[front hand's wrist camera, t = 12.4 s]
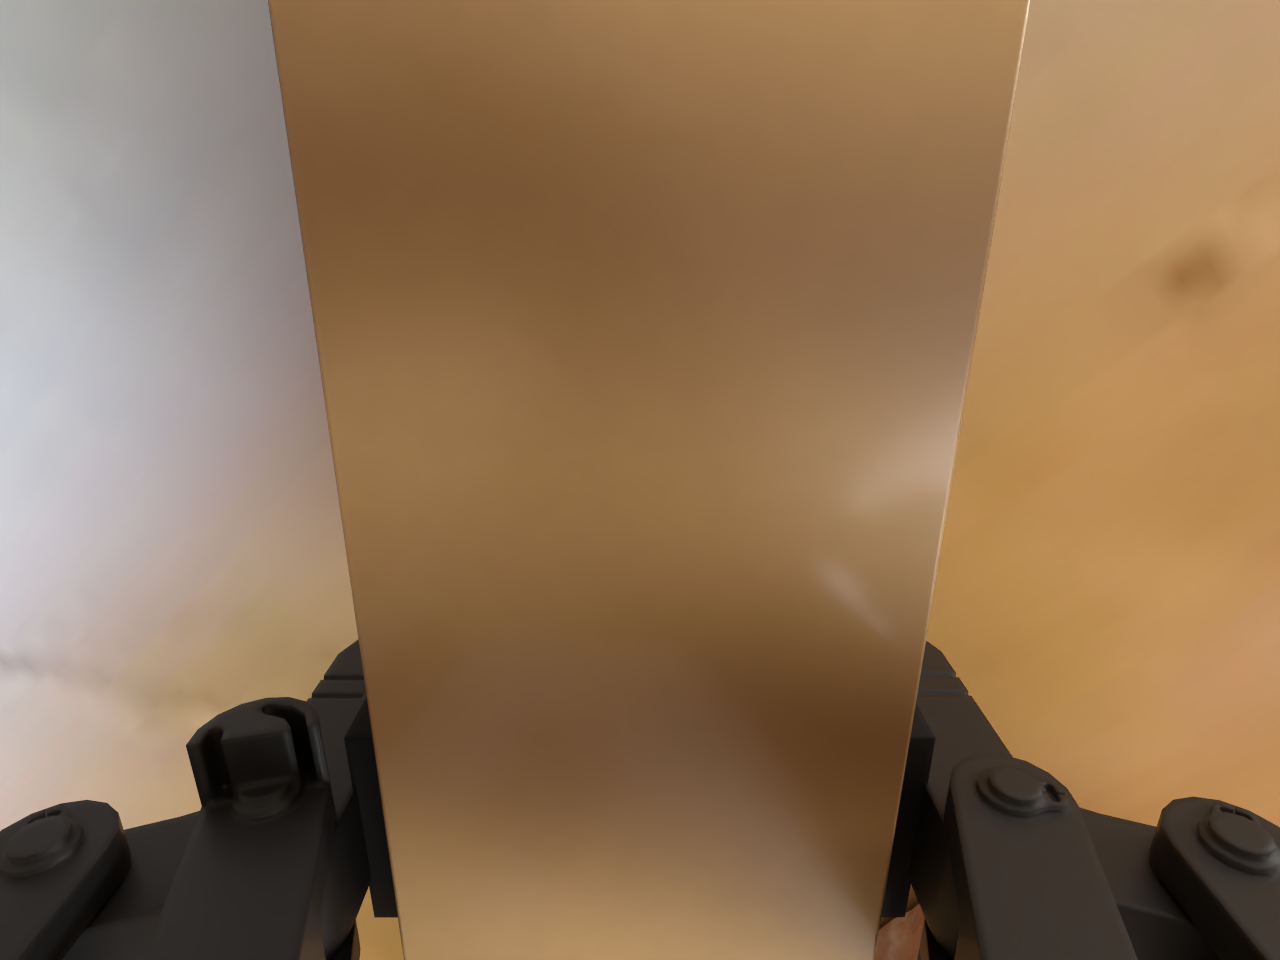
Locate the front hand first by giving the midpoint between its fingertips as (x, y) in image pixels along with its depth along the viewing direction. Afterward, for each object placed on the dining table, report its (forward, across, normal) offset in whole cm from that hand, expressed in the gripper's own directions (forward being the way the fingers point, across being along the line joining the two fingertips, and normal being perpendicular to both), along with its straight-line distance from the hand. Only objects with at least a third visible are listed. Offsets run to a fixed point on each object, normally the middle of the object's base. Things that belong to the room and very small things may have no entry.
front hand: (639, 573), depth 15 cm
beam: (+1, 0, -24) cm, 24 cm away
